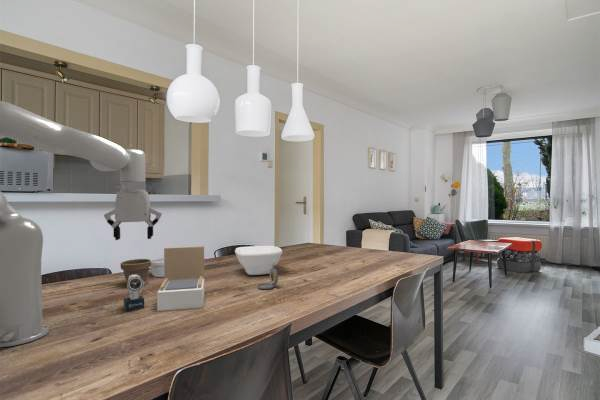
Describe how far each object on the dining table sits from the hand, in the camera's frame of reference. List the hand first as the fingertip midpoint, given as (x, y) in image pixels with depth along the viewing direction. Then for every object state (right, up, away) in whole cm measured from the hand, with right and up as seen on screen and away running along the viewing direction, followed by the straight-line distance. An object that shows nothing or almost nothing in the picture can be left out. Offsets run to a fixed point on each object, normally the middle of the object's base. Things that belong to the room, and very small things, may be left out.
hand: (133, 239), depth 109 cm
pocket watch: (+42, -23, +24) cm, 54 cm away
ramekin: (-9, -23, +47) cm, 52 cm away
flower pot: (-13, -23, +28) cm, 38 cm away
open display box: (+14, -23, +7) cm, 28 cm away
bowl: (+35, -22, +48) cm, 64 cm away
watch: (0, -23, 0) cm, 23 cm away
